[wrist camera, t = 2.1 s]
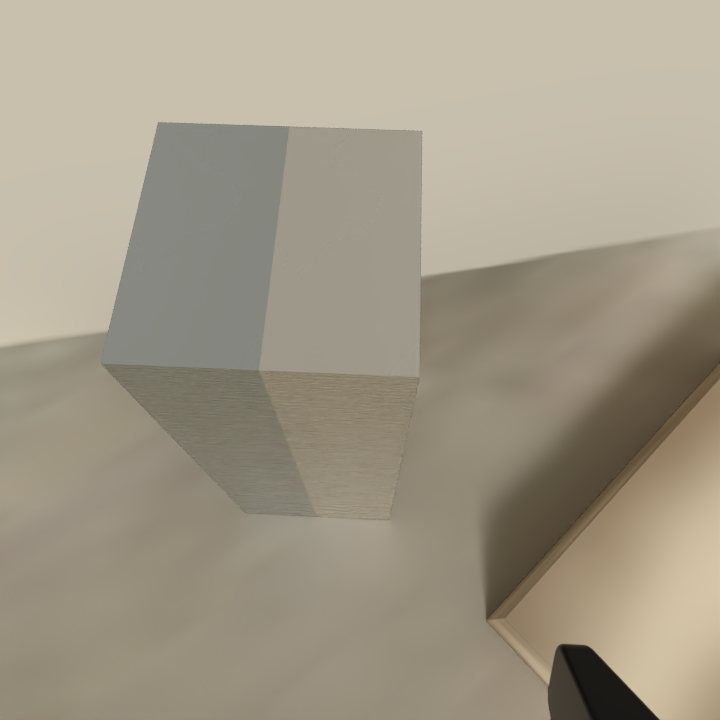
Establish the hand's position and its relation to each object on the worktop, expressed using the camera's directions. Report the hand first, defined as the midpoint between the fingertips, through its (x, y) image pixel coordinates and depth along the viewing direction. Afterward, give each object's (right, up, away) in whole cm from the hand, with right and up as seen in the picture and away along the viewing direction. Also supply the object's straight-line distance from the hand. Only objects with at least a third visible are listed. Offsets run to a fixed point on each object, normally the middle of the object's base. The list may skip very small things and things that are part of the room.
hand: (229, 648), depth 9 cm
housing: (0, +1, +14) cm, 14 cm away
